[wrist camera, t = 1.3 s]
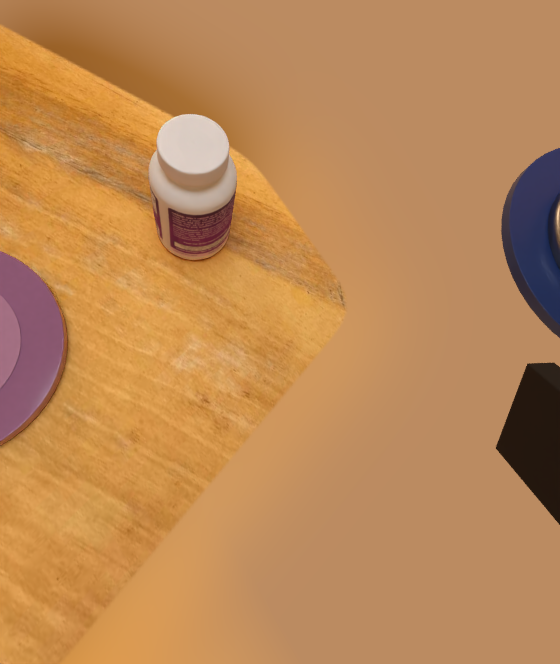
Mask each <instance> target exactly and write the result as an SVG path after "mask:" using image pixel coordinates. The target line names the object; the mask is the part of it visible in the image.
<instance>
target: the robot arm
mask: <svg viewBox="0 0 560 664" xmlns="http://www.w3.org/2000/svg"><path fill="white" fill-rule="evenodd" d="M548 236H549V242H550V247H551V250H552V253H553V256H554V259H555V261H556V263H557V265H558V267H559V269H560V193H559V195H558V196H557V197H556V199H555V200H554V202H553V204H552V207H551V210H550V213H549V219H548ZM496 449H497V450H498V451H499V453H500V454H501V455H502V456H503V457H504V459H505V460H506V461H507V462H508V463H509V465H510V466H511V467H512V468H513V469H514V471H515V472H516V473H517V474H518V475H519V477H521V479H522V480H523V481H524V482H525V484H526V485H527V486H528V487H529V489H530V490H531V491H532V492H533V493H534V495H535V496H536V497H537V498H538V499H539V500H540V501H541V503H542V504H543V505H544V507H546V509H547V510H548V511H549V512H550V514H551V515H552V516H553V517H554V518H555V520H556V521H557V522H558V523H559V524H560V367H559V366H558V365H556V364H555V363H534V364H533V363H532V364H527V366H526V369H525V372H524V374H523V377H522V380H521V382H520V385H519V388H518V390H517V393H516V395H515V398H514V401H513V404H512V406H511V409H510V412H509V414H508V417H507V419H506V422H505V425H504V427H503V430H502V433H501V435H500V438H499V441H498V443H497V447H496Z"/></svg>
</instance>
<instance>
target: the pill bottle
mask: <svg viewBox="0 0 560 664" xmlns="http://www.w3.org/2000/svg"><path fill="white" fill-rule="evenodd" d="M148 178H149V183H150V190H151V196H152V204H153V210H154V217H155V222H156V228H157V233H158V236H159V238H160V240H161V242H162V244H163V245H164V246H165V247H166V248H167V249H168V250H169V251H170V252H171V253H173V254H174V255H176V256H179V257H181V258H184V259H189V260H199V259H205V258H209V257H211V256H213V255H214V254H216V253H217V252H218V251H220V250H221V249H222V247H223V246H224V245H225V243H226V241H227V239H228V236H229V232H230V225H231V219H232V212H233V205H234V199H235V192H236V185H237V173H236V168H235V165H234V162H233V160H232V158H231V156H230V155H229V143H228V138H227V136H226V134H225V132H224V131H223V129H222V128H221V127H220V126H219V125H218V124H217V123H216V122H214V121H212V120H211V119H209V118H206V117H203V116H200V115H194V114H184V115H180V116H176V117H174V118H172V119H170V120H169V121H167V122H166V123H165V124H164V125H163V126H162V127H161V129H160V131H159V133H158V136H157V150H156V151H155V153H154V154H153V156H152V158H151V161H150V165H149V177H148Z"/></svg>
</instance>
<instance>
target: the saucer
mask: <svg viewBox="0 0 560 664" xmlns="http://www.w3.org/2000/svg"><path fill="white" fill-rule="evenodd" d="M66 355H67V331H66V324H65V320H64V317H63V313H62V311H61V308H60V306H59V304H58V302H57V300H56V298H55V297H54V295H53V294H52V292H51V291H50V289H49V288H48V286H47V285H46V284H45V283H44V282H43V280H42V279H41V278H40V277H39V276H38V275H37V274H36V273H35V272H34V271H33V270H31V269H30V268H29V267H28V266H27V265H25V264H24V263H22V262H21V261H19V260H18V259H16V258H14V257H12V256H10V255H8V254H6V253H4V252H1V251H0V446H1V445H2V444H4V443H6V442H7V441H9V440H11V439H12V438H13V437H14V436H16V435H17V434H18V433H20V432H21V431H22V430H24V429H25V428H26V427H27V426H28V425H29V424H30V423H31V422H32V421H33V420H34V419H35V418H36V417H37V416H38V415H39V413H40V412H41V411H42V410H43V408H44V407H45V406H46V405H47V403H48V401H49V400H50V398H51V397H52V395H53V393H54V392H55V390H56V387H57V385H58V383H59V381H60V379H61V376H62V372H63V369H64V366H65V361H66Z"/></svg>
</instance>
